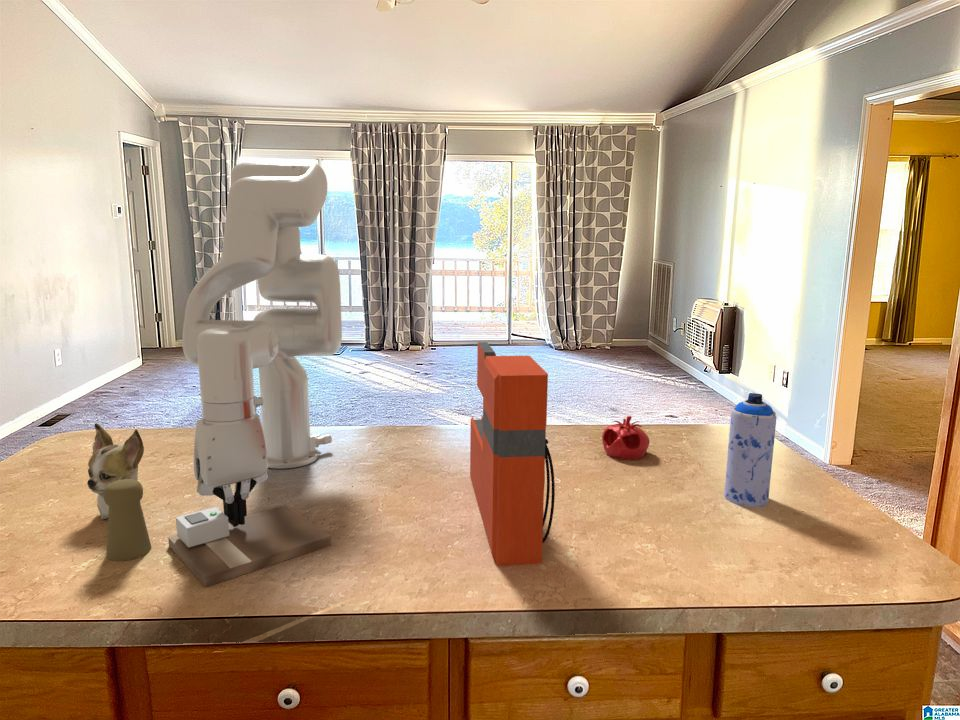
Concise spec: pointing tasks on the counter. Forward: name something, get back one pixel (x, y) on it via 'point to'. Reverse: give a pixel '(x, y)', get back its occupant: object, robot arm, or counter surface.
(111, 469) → the ceramic sculpture
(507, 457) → the toy gas pump
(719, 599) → the counter surface
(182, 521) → the white box with button
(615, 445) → the pomegranate
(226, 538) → the board
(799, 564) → the counter surface
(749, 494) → the aerosol can
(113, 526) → the olive pawn figure
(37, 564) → the counter surface
